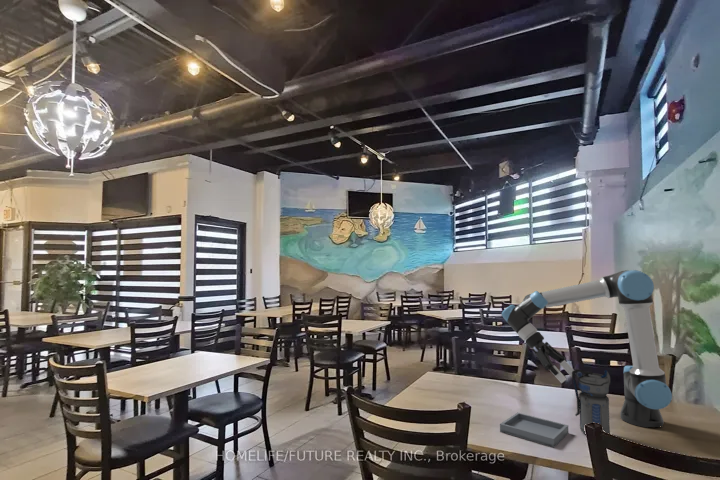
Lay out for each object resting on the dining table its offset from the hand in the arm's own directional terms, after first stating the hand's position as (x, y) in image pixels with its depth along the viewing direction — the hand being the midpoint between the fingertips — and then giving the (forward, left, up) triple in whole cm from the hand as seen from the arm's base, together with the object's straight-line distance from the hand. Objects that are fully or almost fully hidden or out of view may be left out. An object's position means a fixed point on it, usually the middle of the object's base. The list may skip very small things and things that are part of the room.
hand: (569, 378), depth 164 cm
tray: (+9, +15, -20) cm, 27 cm away
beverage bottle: (-8, 0, -20) cm, 22 cm away
